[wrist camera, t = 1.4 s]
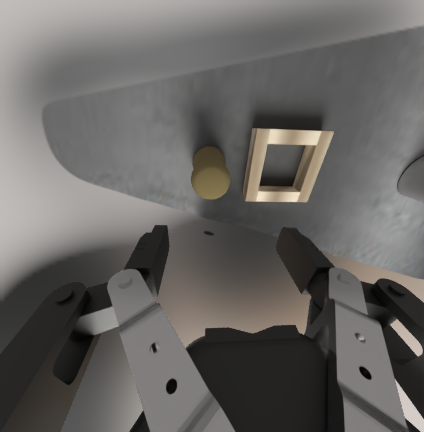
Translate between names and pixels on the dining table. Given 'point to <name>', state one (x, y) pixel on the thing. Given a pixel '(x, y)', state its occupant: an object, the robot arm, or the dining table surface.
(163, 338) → the robot arm
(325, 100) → the dining table surface
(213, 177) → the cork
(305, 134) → the socket block
